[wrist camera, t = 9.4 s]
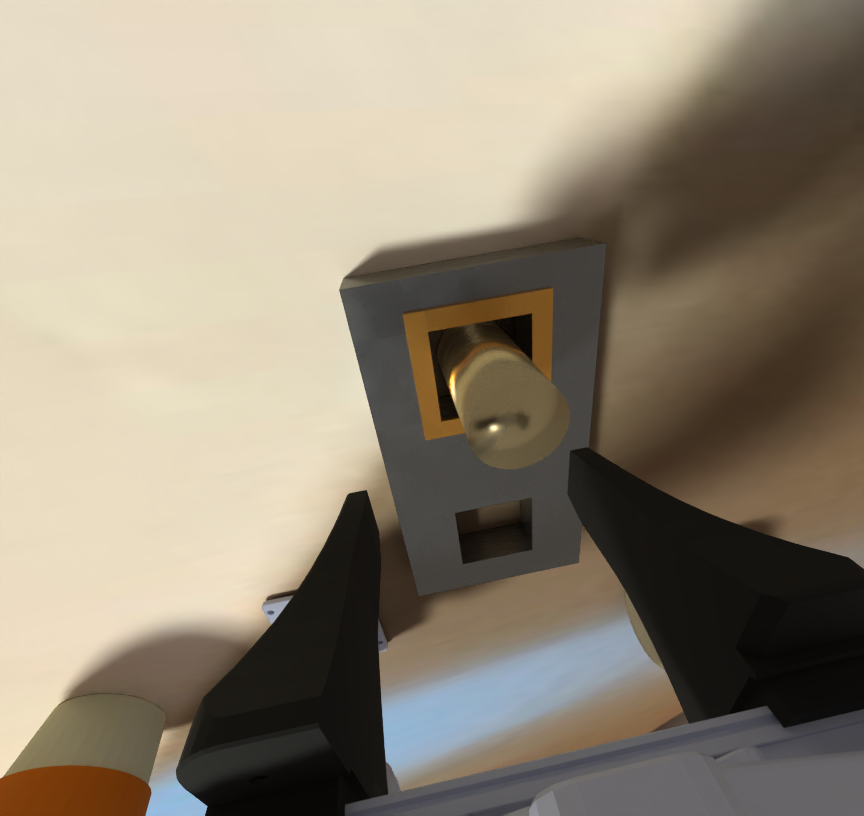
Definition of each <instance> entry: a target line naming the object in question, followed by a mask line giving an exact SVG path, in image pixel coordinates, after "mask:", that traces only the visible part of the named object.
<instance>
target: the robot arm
mask: <svg viewBox="0 0 864 816" xmlns="http://www.w3.org/2000/svg"><path fill="white" fill-rule="evenodd" d="M567 494H568V496H569V499H570V501H571V503H572V505H573V507H574V509H575V511H576V513H577V515H578V517H579V519H580V521H581V522H582V524H583V525H584V527H585V528H586V530H587V532H588V533H589V535H590V536H591V538H592V539H593V541H594V542H595V544H596V545H597V547H598V548H599V550H600V551H601V553H602V554H603V556H604V557H605V559H606V560H607V562H608V563H609V565H610V566H611V568H612V569H613V571H614V572H615V574H616V576H617V577H618V579H619V581H620V582H621V584H622V585H623V587H624V589H625V591H626V593H627V595H628V597H629V598H630V600H631V602H632V604H633V606H634V608H635V610H636V612H637V614H638V615H639V617H640V619H641V621H642V623H643V625H644V627H645V629H646V631H647V633H648V635H649V637H650V639H651V641H652V643H653V645H654V648H655V650H656V652H657V654H658V656H659V658H660V660H661V662H662V664H663V667H664V669H665V671H666V673H667V675H668V677H669V679H670V682H671V684H672V686H673V688H674V691H675V693H676V695H677V697H678V700H679V702H680V704H681V706H682V709H683V711H684V713H685V716H686V718H687V720H688V722H689V724H687V725H683V726H678V727H674V728H670V729H665V730H661V731H657V732H652V733H648V734H644V735H640V736H635V737H631V738H627V739H623V740H618V741H614V742H610V743H606V744H601V745H597V746H593V747H588V748H584V749H580V750H576V751H571V752H567V753H563V754H559V755H554V756H550V757H546V758H541V759H537V760H533V761H529V762H524V763H520V764H516V765H512V766H507V767H503V768H499V769H495V770H490V771H486V772H482V773H477V774H473V775H469V776H465V777H460V778H456V779H452V780H448V781H443V782H439V783H435V784H430V785H426V786H422V787H418V788H413V789H409V790H405V791H400V787H399V783H398V781H397V779H396V777H395V775H394V773H393V771H392V768H391V767H390V765H389V764H388V763H386V760H385V748H384V733H383V719H382V704H381V687H380V669H379V652H383V651H386V650H387V649H388V643H387V640H386V637H385V635H384V632H383V629H382V626H381V624H380V621H379V618H378V617H379V595H380V571H381V553H380V539H379V530H378V527H377V523H376V520H375V517H374V513H373V510H372V507H371V503H370V500H369V496H368V493H367V490H364V491H359V492H354V493H349V494H348V495H347V497H346V499H345V502H344V504H343V507H342V509H341V511H340V514H339V516H338V518H337V520H336V523H335V525H334V527H333V529H332V531H331V533H330V535H329V537H328V539H327V541H326V543H325V545H324V547H323V549H322V550H321V552H320V554H319V556H318V557H317V559H316V561H315V563H314V564H313V566H312V568H311V569H310V571H309V573H308V574H307V576H306V577H305V579H304V581H303V582H302V584H301V585H300V587H299V588H298V590H297V591H296V593H295V594H294V595H292V596H287V597H282V598H277V599H272V600H268V601H265V602H264V603H263V605H262V610H263V612H264V614H265V615H266V617H267V618H268V620H269V622H270V623H271V626H270V627H269V628H268V630H267V631H266V632H265V633H264V634H263V635H262V636H261V638H260V639H259V640H258V641H257V642H256V643H255V645H254V646H253V647H252V648H251V649H250V650H249V652H248V653H247V654H246V655H245V656H244V657H243V658H242V659H241V660H240V662H239V663H238V664H237V665H236V666H235V667H234V668H233V669H232V670H231V671H230V672H229V673H228V674H227V675H226V676H225V677H224V678H223V679H222V680H221V681H220V682H219V683H218V684H217V685H216V686H215V687H214V688H213V689H212V690H211V691H210V692H209V693H208V694H207V695H206V696H204V697H203V699H202V702H201V704H200V707H199V709H198V711H197V713H196V716H195V718H194V720H193V723H192V726H191V728H190V731H189V734H188V737H187V740H186V743H185V746H184V749H183V752H182V755H181V758H180V760H179V763H178V766H177V769H176V776H177V779H178V781H179V783H180V784H181V785H182V786H183V787H184V788H185V789H186V790H187V791H188V792H190V793H191V794H192V795H194V796H195V797H196V798H198V799H199V800H200V801H202V802H203V803H204V804H205V805H207V806H208V807H207V811H206V814H205V816H864V569H863V568H862V567H860V566H859V565H858V564H856V563H855V562H854V561H853V560H851V559H850V558H848V557H845V556H841V555H837V554H833V553H829V552H826V551H822V550H818V549H814V548H810V547H806V546H803V545H799V544H795V543H792V542H789V541H785V540H782V539H779V538H776V537H773V536H769V535H766V534H763V533H760V532H757V531H754V530H751V529H748V528H746V527H743V526H740V525H738V524H735V523H732V522H730V521H727V520H724V519H722V518H719V517H717V516H714V515H712V514H709V513H707V512H705V511H702V510H700V509H698V508H696V507H693V506H691V505H689V504H687V503H685V502H683V501H680V500H678V499H676V498H674V497H672V496H670V495H668V494H667V493H665V492H663V491H661V490H659V489H657V488H655V487H653V486H651V485H650V484H648V483H646V482H644V481H642V480H641V479H639V478H637V477H635V476H634V475H632V474H630V473H629V472H627V471H625V470H624V469H622V468H620V467H619V466H617V465H615V464H614V463H612V462H610V461H609V460H607V459H606V458H604V457H602V456H601V455H599V454H597V453H596V452H594V451H592V450H591V449H589V448H587V447H585V448H580V449H575V450H570V458H569V475H568V492H567Z"/></svg>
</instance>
